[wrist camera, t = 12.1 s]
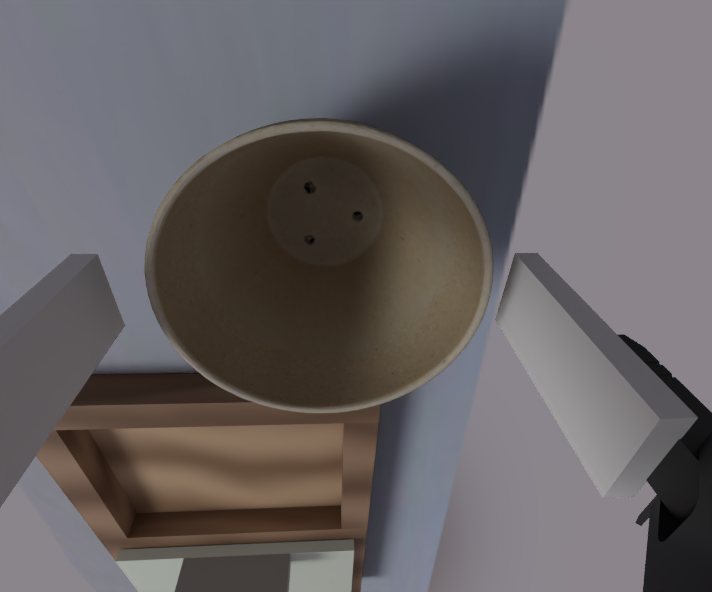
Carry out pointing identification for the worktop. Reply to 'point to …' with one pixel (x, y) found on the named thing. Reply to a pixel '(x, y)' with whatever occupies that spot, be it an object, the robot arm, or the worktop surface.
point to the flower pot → (318, 266)
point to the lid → (242, 567)
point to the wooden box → (210, 466)
